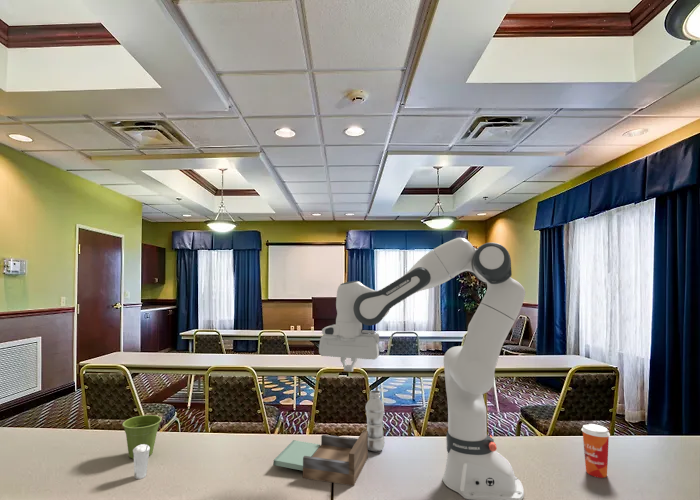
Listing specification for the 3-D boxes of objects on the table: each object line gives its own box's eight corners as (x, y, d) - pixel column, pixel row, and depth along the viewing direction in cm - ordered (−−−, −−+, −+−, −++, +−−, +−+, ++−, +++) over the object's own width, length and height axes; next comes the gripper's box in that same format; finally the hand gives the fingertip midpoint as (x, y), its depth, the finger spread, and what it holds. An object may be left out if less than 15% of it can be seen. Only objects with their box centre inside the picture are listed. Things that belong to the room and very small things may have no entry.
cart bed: (367, 458, 136) (367, 430, 136) (354, 485, 118) (354, 454, 119) (322, 452, 140) (322, 425, 140) (302, 477, 122) (303, 447, 123)
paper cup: (576, 470, 129) (575, 425, 129) (593, 465, 132) (592, 421, 132) (600, 482, 121) (599, 434, 122) (617, 477, 124) (616, 430, 125)
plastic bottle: (383, 454, 138) (383, 395, 139) (363, 452, 140) (364, 393, 141) (385, 446, 145) (385, 389, 146) (366, 445, 146) (367, 388, 147)
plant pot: (126, 466, 128) (127, 430, 129) (117, 454, 137) (118, 420, 138) (165, 455, 136) (166, 421, 137) (154, 444, 145) (155, 412, 146)
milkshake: (139, 482, 119) (140, 447, 119) (128, 477, 122) (130, 443, 122) (153, 476, 123) (154, 442, 123) (143, 471, 126) (144, 438, 126)
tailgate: (320, 444, 139) (293, 440, 142) (303, 465, 124) (273, 460, 126) (320, 449, 139) (293, 444, 141) (303, 470, 124) (273, 464, 126)
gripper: (381, 329, 137) (380, 371, 136) (323, 326, 142) (323, 366, 141) (377, 332, 131) (377, 375, 130) (317, 329, 136) (317, 370, 135)
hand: (348, 370), depth 136 cm, fingers closed
